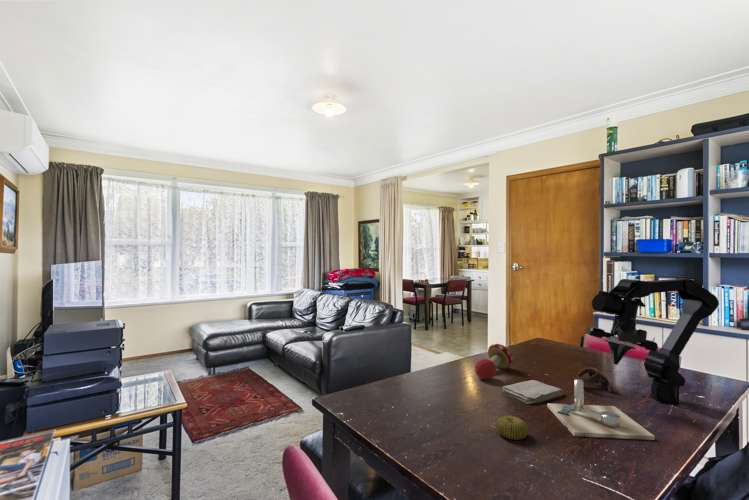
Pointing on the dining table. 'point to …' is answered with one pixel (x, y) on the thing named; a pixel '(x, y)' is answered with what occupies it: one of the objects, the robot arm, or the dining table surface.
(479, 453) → the dining table surface
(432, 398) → the dining table surface
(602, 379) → the pottery mug
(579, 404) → the crank handle
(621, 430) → the napkin
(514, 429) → the green sea urchin shell
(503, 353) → the decorative mushroom
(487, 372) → the tomato
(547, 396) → the washcloth
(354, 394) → the dining table surface
